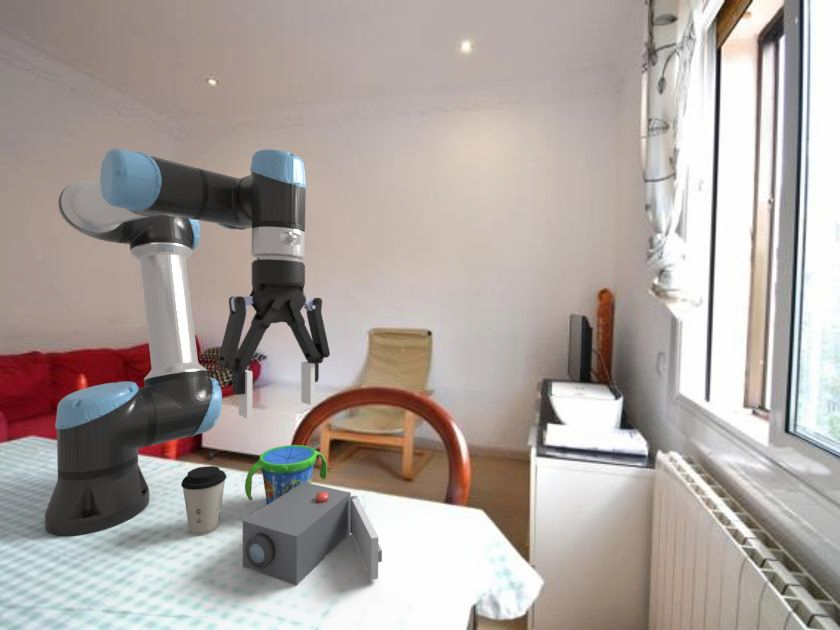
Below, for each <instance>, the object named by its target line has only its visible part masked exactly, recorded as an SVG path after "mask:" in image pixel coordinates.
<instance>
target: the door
mask: <svg viewBox="0 0 840 630" xmlns="http://www.w3.org/2000/svg"><path fill="white" fill-rule="evenodd" d="M349 534H351V536H352V538H353V541H354V543H355V545H356V548H357V549H358V552H359V555H360V558H361V559H362V562H363V564H364V566H365V569H366V571H367V573H368V576H369V578H370V581H373V580H377V579H379V563H381V562H383V551H382V549H381V546H380V544H379V536H378V534H377V531H376V530H375V528H374V526H373V524H372V522H371V520H370V519H369V516H368V515H367V513H366V510H365V509H364V508H363V506H362V503H361V502H360V499H359V496H357V495H351V521H350V533H349Z"/></svg>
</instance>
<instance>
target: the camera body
mask: <svg viewBox="0 0 840 630" xmlns="http://www.w3.org/2000/svg"><path fill="white" fill-rule="evenodd" d="M351 496H352V493H351V492H349V491H345V490H341V489H337V488H332V487H327V486H323V485H319V484H315V483H311V484H310V483H306V482H303V483H301V484H299V485H298V486H296V487H295V488H293V489H292V490H290V491H289V492H287V493H285V494H284V495H282V496H281V497H279V498H278V499H276V500H274V501H273V502H271V503H270V504H268V505H267V504H266V505H265V506H264V507H261V508H260V509H259V510H257V511H256V512H254V513H253V514H250V515H249V516H248V517H246V518H244V519H243V520H242V568H246V569H248V570H251V571H255V572H256V573H257V572H258V573H260V574H263V575H265V576H269V577H271V578H274V579H277V580H281V581H282V582H287V583H289V584H291V585H294V586H298V585H299V584H300V583H301V582H302V581H303V580H304V579H305V578H306V577H307V576H308V575H309V574H310V573H311V572H312V571H313V570H314V569H315V568H316V567H317V566H318V565H319V564H320V563H321V562H322V561H323V560H324V559H325V558H326V557H328V555H330V553H332V551H333V550H335V548H336V547H338V546H339V544H340V543H342V541H344V540H345V539H346V538H347V536H349V534H351V533H350V521H351Z"/></svg>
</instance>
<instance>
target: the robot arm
mask: <svg viewBox="0 0 840 630" xmlns="http://www.w3.org/2000/svg"><path fill="white" fill-rule="evenodd" d="M249 170H250V174H248V175H246V176H244V177H241V178H240V177H234V176H231V175H227V174H223V173H219V172H214V171H210V170H206V169H202V168H198V167H194V166H190V165H186V164H184V163H179V162H175V161H172V160H167V159H163V158H160V157H156V156H152V155H149V154H147V153H145V152H142V151H133V150H132V151H131V150H125V149H121V148H112V149H110V150H108V151H107V152H105V155H104V158H103V160H102V162H101V168H100V176H99V178H96V179H94V180H93V179H83V180H77V181H74V182H72V183H69V185H67V186H65V188H63V190H62V191H61V193H60V194H59V196H58V200H57V204H58V206H57V207H58V210H59V213H60V215H61V217H62V218H63V220H64V221H65V222H66V223H67V224H68V225H69V226H70V227H71V228H73V229H74V230H77V231H78V232H79V233H81V234H83V235H85V236H87V237H91V238H93V239H97V240H100V241H104V242H109V243H116V244H123V245H124V244H125V245H129V251H130V255H131V256H132V257H133V258H135V259H136V260H137V261H139V263H140V264H139V265H140V270H141V271H140V272H141V281H142V282H141V283H142V289H143V290H142V291H143V300H144V310H145V318H146V326H147V328H146V329H147V330H146V331H147V336H148V337H147V339H148V348H149V356H150V366H151V369H150V372H148V374H147V375H146V376H145V377H144V378H143V382H144V383H143V384H144V387H143V386H142V387H139V386H138V384H137V383H136V382H134V381H118V382H110V383H109V382H108V383H102V384H98V385H93V386H89V387H86V388H82V389H79V390H77V391H73V392H71V393H69V394H67V395H65V396H64V397H63V398H61V399H60V401H59V402H58V404H57V409H56V419H55V423H54V427H55V429H56V447H57V448H56V451H57V452H56V454H57V460H56V461H57V480H56V484H55V486H54V489H53V491H52V495H51V496H50V500H49V502H48V504H47V508H46V510H45V513H44V529H45V530H46V531H47V532H48V533H50V534H52V535H57V536H59V535H60V536H72V535H73V536H74V535H75V536H76V535H81V534H83V535H84V534H88V533H93V532H98V531H102V530H104V529H105V530H106V529H108V528H111V527H114V526H117V525H119V524H122V523H124V522H126V521H128V520H130V519H132V518H134V517H136V516H137V515H139V514H140V513H142V512H143V511H144V510H145V509H146V508H147V507H148V506H149V504H150V488H149V486H148V483H147V481H146V479H145V477H144V474H143V472H142V470H141V468H140V466H139V450H140V449H142V448H146V447H150V446H155V445H159V444H164V443H167V442H172V441H177V440H181V439H185V438H192V437H194V436H196V435H199V434H202V433H203V434H204V433H206V432H209V431H210V430H212V429H213V428H214V427H215V425H216V424H217V422H218V420H219V419H220V415H221V411H222V406H223V396H222V395H223V392H222V389H221V386H220V385H219V384H220V383H219V381H218V380H217V379H215V378H214V377H209V376H208V375H209V374H208V369H207V368H205V367H204V366H203V365H201V364H200V363H199V359H198V350H197V342H196V333H195V327H194V325H195V324H194V319H193V318H194V317H193V311H192V302H191V292H190V286H189V285H190V284H189V278H188V276H189V275H188V269H187V262H186V261H187V259H189V257H191V256H192V255H193V250H195V249H196V248H197V247H198V245H199V243H200V239H201V236H200V234H201V225H200V221H201V222H207V223H214V224H217V225H219V226H221V227H222V228H224V229H227V230H239V231H241V230H244V231H245V230H247V229H251V256H252V257H253V258H255V260H252V262H251V288H252V289H251V293H249V295H248V296H241V295H240V296H233V295H232V296H231V297H228V306H229V307H228V308H229V314H228V319H227V323H226V327H225V331H224V335H223V339H222V342H221V346H220V351H219V353H218V359H217V365H218V367H221V368H224V369H228V370H230V371H231V372H232V373H231V375H232V376H231V377H232V378H231V380H232V384H231V385H232V386H231V387H232V388H231V390H232V392H233V394H235V395H238V415H239V416H240V417H243V418H245V419H247V420H248V419H251V418H253V371H252V370H248V367H249V365H250V362H251V361H252V359H253V357H254V355H255V353H256V351H257V349H258V347H259V345H260V343H261V341H262V339H263V337H264V335H265V333H266V331H267V330H268V329H269V328H270V327H271V324H278V323H286V324H287V326H288V327H289V328H290V329H291V331H292V334H293V336H294V338H295V339H296V342H297V343H298V345H299V348H300V351H301V352H302V354H303V356H304V358H305V360H306V361H301V363H300V364H301V365H300V367H301V369H300V371H301V375H300V376H301V382H300V384H301V385H300V388H301V391H300V394H301V395H300V397H301V403H303V404H306V405H309V406H313V405H315V403H316V401H315V400H316V398H315V397H316V391H315V390H316V383H318V382H319V377H320V375H319V374H320V369H319V368H320V364H322V363H323V361H324V359H325V358H326V359H327V358H329V357H330V355H331V353H330V352H331V351H330V347H329V343H328V338H327V334H326V329H325V323H324V320H323V313H322V310H323V309H322V306H323V299H322V298H320V297H307V296H306V294H305V292H304V291H305V290H304V289H305V288H304V287H305V285H306V264H304V262H302V261H301V260H305V258H306V255H305V254H306V245H305V243H306V242H305V241H306V240H305V238H306V232H305V230H306V196H307V195H306V194H307V193H306V192H307V190H306V189H307V184H306V172H305V171H306V169H305V164H304V161H303V160H302V158H300V157H299V156H298V155H296V154H294V153H291V152H288V151H286V150H281V149H273V148H271V149H270V148H269V149H260V150H258V151H256V152H254V153H253V155H252V156H251V164H250V167H249ZM250 306H252V308H253V309H254V311H255V314H254V315H253V317H252V319H251V323H250V327H249V329H248V331H247V333H246V334H245V336H244V338H243V339H242V342H241V345H240V341H241V338H242V333H243V329H244V327H245V326H244V325H245V321H246V318H247V317H246V316H247V312H248V311H249V310H250ZM303 308H304V309H305V311H306V318H307V323H308V326H309V331H310V333H309V331H308V328H307V326H306V321H305V317H304V316H303V314H302V312H301V311H302V309H303ZM239 345H240V346H239Z"/></svg>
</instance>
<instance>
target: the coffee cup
mask: <svg viewBox="0 0 840 630" xmlns="http://www.w3.org/2000/svg"><path fill="white" fill-rule="evenodd" d="M226 479H227V474H226V472H225V471H224V470H221V469H220V468H219V467H218V466H215V465H209V466H198V467H195V468H193V469H191V470H190V471H188V472H187V475H186V476H185V477H184V478H183V479H182V481H181V485H180V486H181V488H182V492H183V498H184V503H185V504H184V505H185V512H186V518H187V525H188V530H189V531H188V532H189V534H190V535H192V536H193V537H194V536H196V537H198V536H199V537H202V536H207V535H209V534H212V533H213V532H215V531H217V530H218V529H219V527H220V522H221V513H222V506H223V497H224V488H225V481H226Z"/></svg>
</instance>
